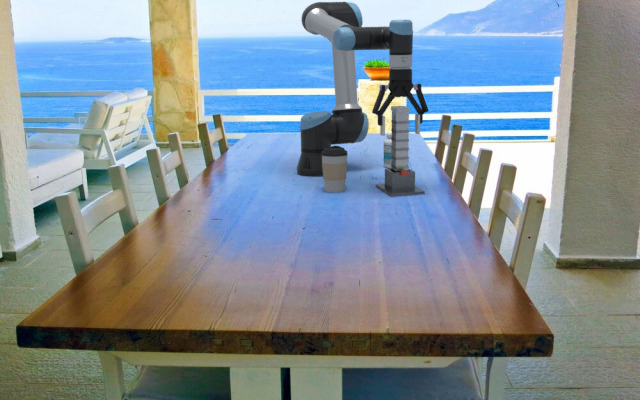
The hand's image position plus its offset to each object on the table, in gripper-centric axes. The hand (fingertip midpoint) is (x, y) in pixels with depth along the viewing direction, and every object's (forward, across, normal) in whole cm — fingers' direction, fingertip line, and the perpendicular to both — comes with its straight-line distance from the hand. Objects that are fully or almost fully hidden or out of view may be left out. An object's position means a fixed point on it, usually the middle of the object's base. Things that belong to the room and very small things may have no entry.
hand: (400, 134), depth 230 cm
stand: (+19, 0, 0) cm, 19 cm away
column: (+12, 0, 0) cm, 12 cm away
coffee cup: (+19, -21, +7) cm, 29 cm away
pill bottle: (+19, +12, +42) cm, 48 cm away
